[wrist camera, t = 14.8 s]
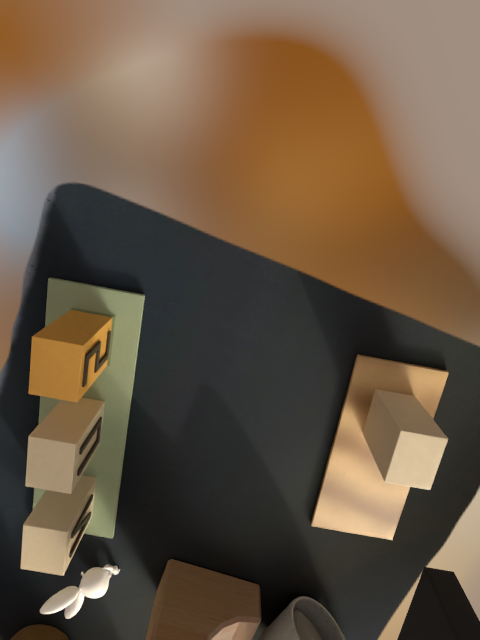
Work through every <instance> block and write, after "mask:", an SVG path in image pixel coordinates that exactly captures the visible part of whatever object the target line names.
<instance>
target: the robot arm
mask: <svg viewBox="0 0 480 640" xmlns="http://www.w3.org/2000/svg"><path fill="white" fill-rule="evenodd" d="M398 640H480V621H479V619H478V618H477V616H476V614H475V612H474V610H473V608H472V606H471V604H470V602H469V600H468V599H467V597H466V595H465V593H464V591H463V589H462V587H461V585H460V583H459V581H458V579H457V577H456V576H455V574H454V572H451V571H445V570H439V569H433V568H427V567H424V570H423V572H422V575H421V578H420V581H419V583H418V586H417V588H416V591H415V594H414V597H413V599H412V602H411V605H410V607H409V610H408V613H407V616H406V618H405V621H404V624H403V626H402V629H401V632H400V634H399V637H398Z"/></svg>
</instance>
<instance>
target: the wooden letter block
mask: <svg viewBox="0 0 480 640" xmlns="http://www.w3.org/2000/svg"><path fill="white" fill-rule="evenodd" d="M95 485H96V478H95V477H90V476H84V475H82V476H81V478H80V480H79V481H78V483H77V485H76V487H75V488H74V490H73V492H72V493H71V494H68V493H62V492H56V491H50V490H46V491H45V493H44V494H43V496H42V497H41V499H40V500H39V502H38V503H37V505H36V506H35V508H34V509H33V511H32V512H31V514H30V515H29V517H28V518H27V520H26V521H25V523H24V524H23V536H22V553H21V569H25V570H31V571H37V572H43V573H49V574H55V575H62V576H63V575H64V573H65V571H66V569H67V567H68V565H69V563H70V561H71V559H72V557H73V555H74V553H75V551H76V549H77V546H78V544H79V542H80V540H81V538H82V536H83V534H84V532H85V530H86V528H87V526H88V524H89V522H90V519H91V517H92V512H93V503H94V494H95Z"/></svg>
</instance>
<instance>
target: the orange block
mask: <svg viewBox="0 0 480 640" xmlns="http://www.w3.org/2000/svg"><path fill="white" fill-rule="evenodd" d="M111 326H112V317H107V316H102V315H96V314H91V313H86V312H80V311H75V310H70V311H68V312H67V313H65V314H64V315H62V316H61V317H60V318H58V319H57V320H55V321H54V322H52V323H51V324H49V325H48V326H46V327H45V328H44V329H42V330H41V331H39V332H38V333H36V334H35V335H33V336H32V346H31V362H30V379H29V394H32V395H38V396H44V397H49V398H55V399H60V400H66V401H72V402H78V401H79V400H80V399H81V397H82V396H83V395H84V394H85V392H86V391H87V390H88V389H89V387H90V386H91V385H92V384H93V382H94V381H95V380H96V379H97V378H98V376H99V375H100V374H101V373H102V371H103V370H104V369H105V368H106V366H107V362H108V356H109V347H110V338H111Z"/></svg>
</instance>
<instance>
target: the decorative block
mask: <svg viewBox="0 0 480 640" xmlns="http://www.w3.org/2000/svg"><path fill="white" fill-rule="evenodd" d="M260 622H261V594H260V587H259V585H258V584H254V583H251V582H248V581H244V580H241V579H238V578H235V577H231V576H228V575H225V574H221V573H218V572H215V571H211V570H208V569H204V568H201V567H198V566H194V565H191V564H187V563H184V562H181V561H177V560H174V559H171V560H168V562H167V565H166V568H165V570H164V573H163V576H162V578H161V581H160V584H159V586H158V589H157V592H156V596H155V600H154V604H153V609H152V613H151V617H150V621H149V626H148V630H147V634H146V639H145V640H252V639H253V637H254V635H255V633H256V630H257V628H258V626H259V624H260Z"/></svg>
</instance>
